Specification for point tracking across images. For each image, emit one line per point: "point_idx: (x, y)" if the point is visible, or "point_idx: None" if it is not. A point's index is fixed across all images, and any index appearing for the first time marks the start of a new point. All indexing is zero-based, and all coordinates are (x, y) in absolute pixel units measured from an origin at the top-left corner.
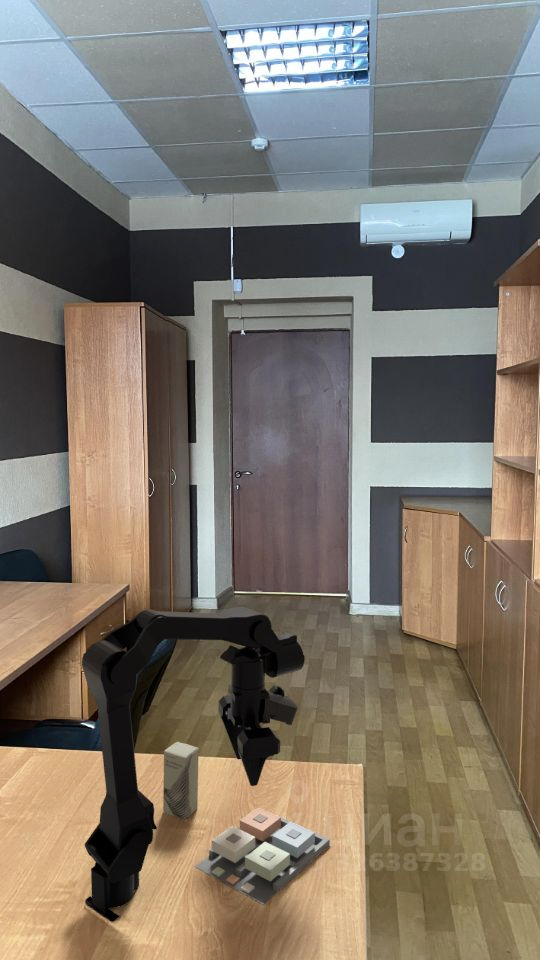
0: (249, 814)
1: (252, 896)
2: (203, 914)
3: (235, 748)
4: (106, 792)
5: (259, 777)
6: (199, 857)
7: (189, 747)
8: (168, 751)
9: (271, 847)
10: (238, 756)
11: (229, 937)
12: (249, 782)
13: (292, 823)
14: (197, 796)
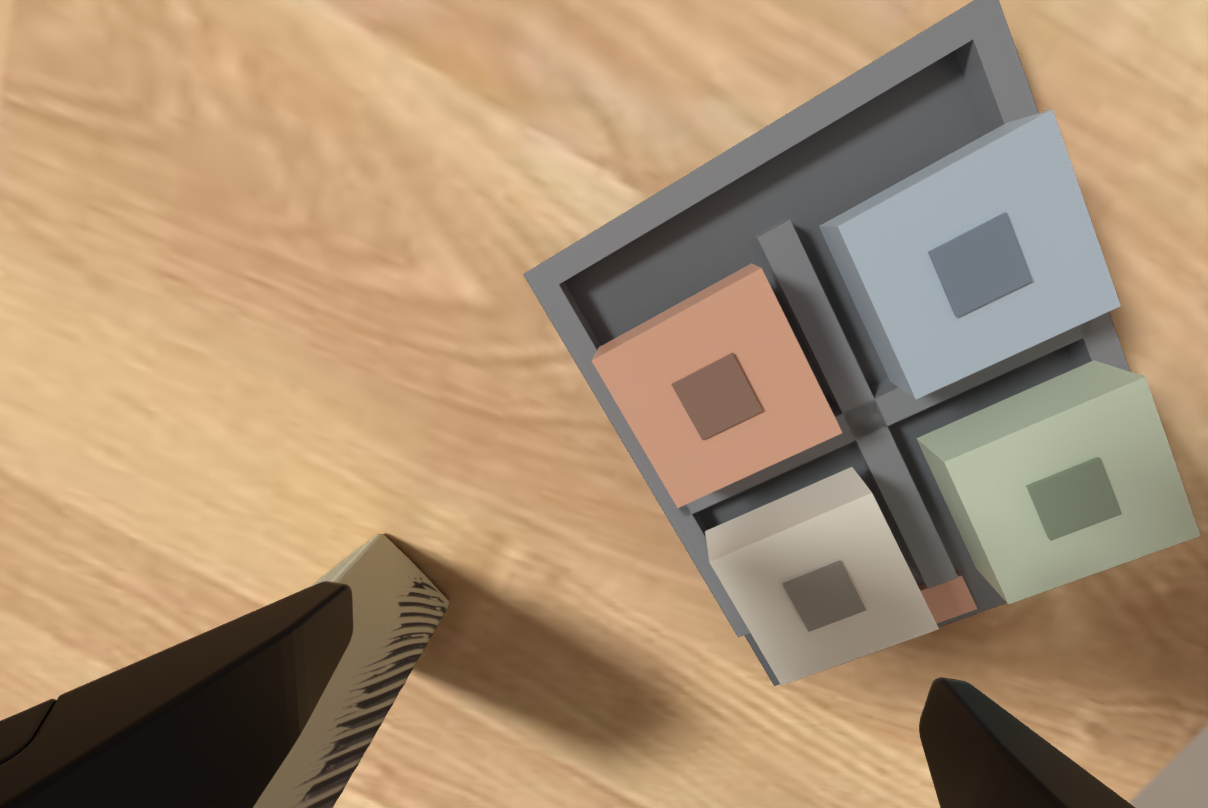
0: (644, 437)
1: None
2: (1001, 706)
3: (267, 768)
4: None
5: (1071, 762)
6: (680, 617)
7: None
8: None
9: (1020, 451)
10: (336, 653)
11: (1172, 675)
12: (938, 773)
13: (865, 221)
14: (341, 582)
